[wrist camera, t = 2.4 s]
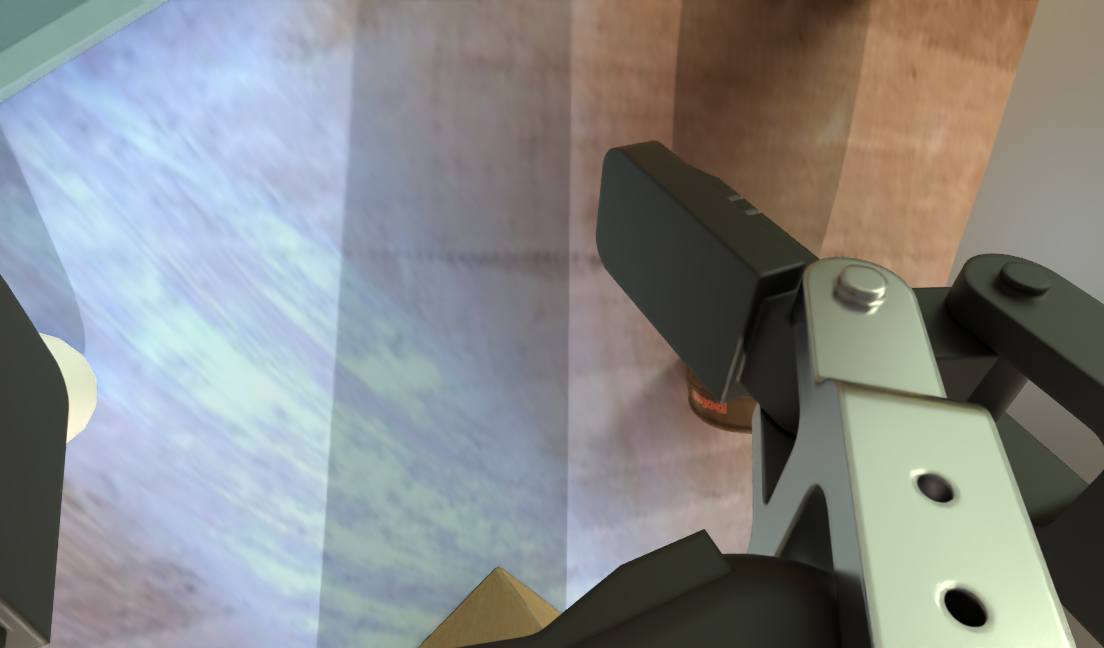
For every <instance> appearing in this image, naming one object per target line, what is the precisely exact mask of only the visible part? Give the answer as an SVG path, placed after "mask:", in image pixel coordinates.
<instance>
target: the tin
mask: <svg viewBox="0 0 1104 648" xmlns="http://www.w3.org/2000/svg"><path fill="white" fill-rule="evenodd" d="M686 379H687V385H688V391H689V396H688V401H689V405H690V408H691V410H692V411H693V413H694V414H695V415H696V416H697V417H698V418H699V419H701V420H702V421H703V422H705V423H707V424H708V425H711V426H713V427H715V428H718V429H721V430H725V431H730V432H737V433H745V434H752V415H753V412H754V409H755V407H756V404H757V402H756V401H755V399H754V398H753V397H752V396H751V395H750V394H749V395H746V396H743V397H741V398H738V399H735V400H732V401H730V402H727V403H724V404H721V405H720V404H719V403H718V402H717V400H716V399H715V398H714V397H713V396H712V394H711V393H710V392H709V391H708V390H707V389H706V387H705V386H704V385H703V384H702V383H701V381H700V380H699V379H698V378H697V377H696V376H695V374H694V373H693V372H692V371H691V370H690V368H689V367H688V366H687V365H686Z"/></svg>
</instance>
